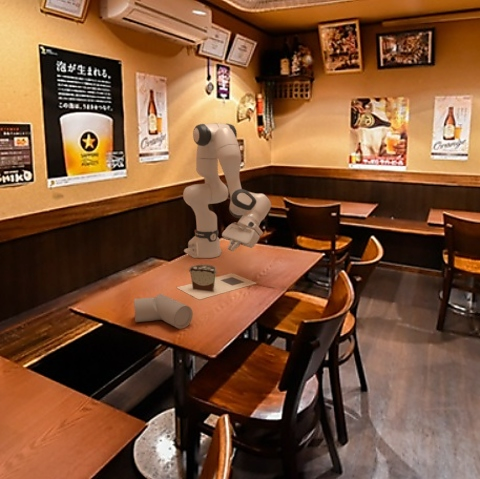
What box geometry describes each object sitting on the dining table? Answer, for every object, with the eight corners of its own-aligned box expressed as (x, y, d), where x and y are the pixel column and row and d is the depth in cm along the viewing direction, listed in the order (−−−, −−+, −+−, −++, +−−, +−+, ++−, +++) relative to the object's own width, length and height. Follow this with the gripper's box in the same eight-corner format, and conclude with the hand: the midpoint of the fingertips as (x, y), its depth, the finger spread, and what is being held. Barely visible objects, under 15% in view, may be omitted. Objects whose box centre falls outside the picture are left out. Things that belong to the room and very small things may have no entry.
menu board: (176, 287, 199) (176, 287, 199) (232, 273, 218) (232, 273, 218) (199, 299, 186) (199, 299, 185) (256, 283, 204) (256, 283, 204)
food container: (221, 287, 199) (221, 265, 197) (216, 292, 193) (215, 269, 191) (195, 284, 203) (194, 263, 200) (189, 289, 197) (188, 267, 195)
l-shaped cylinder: (187, 306, 176) (134, 311, 172) (187, 283, 172) (133, 287, 167) (194, 334, 161) (136, 341, 156) (194, 310, 156) (135, 316, 152)
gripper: (229, 217, 212) (212, 241, 209) (258, 225, 197) (240, 251, 193) (237, 225, 216) (220, 248, 213) (265, 233, 200) (248, 259, 197)
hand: (230, 250), depth 203 cm, fingers closed
